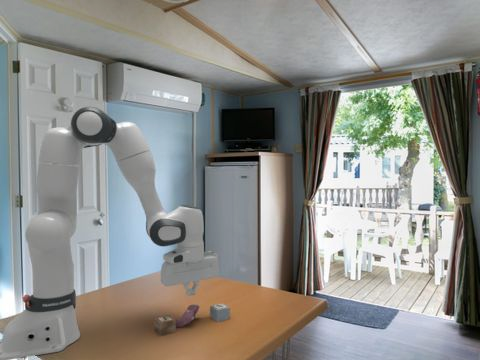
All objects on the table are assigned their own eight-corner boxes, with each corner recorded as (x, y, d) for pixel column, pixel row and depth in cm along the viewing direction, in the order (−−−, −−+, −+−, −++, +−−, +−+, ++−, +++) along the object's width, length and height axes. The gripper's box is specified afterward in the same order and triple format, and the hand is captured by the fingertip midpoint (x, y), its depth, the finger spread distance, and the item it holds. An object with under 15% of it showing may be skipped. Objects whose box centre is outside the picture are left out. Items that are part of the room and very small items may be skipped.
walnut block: (160, 336, 114) (160, 322, 113) (154, 330, 118) (154, 317, 118) (175, 332, 116) (175, 319, 116) (169, 327, 120) (169, 314, 120)
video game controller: (185, 333, 119) (194, 314, 119) (173, 326, 120) (182, 307, 119) (195, 321, 129) (203, 304, 128) (183, 314, 130) (192, 297, 129)
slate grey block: (217, 322, 124) (217, 309, 124) (210, 317, 129) (210, 305, 129) (229, 319, 127) (229, 306, 127) (222, 314, 131) (222, 302, 131)
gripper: (213, 248, 132) (213, 286, 132) (158, 255, 121) (158, 297, 121) (222, 251, 127) (222, 291, 127) (165, 259, 116) (166, 303, 116)
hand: (191, 294), depth 124 cm, fingers closed
